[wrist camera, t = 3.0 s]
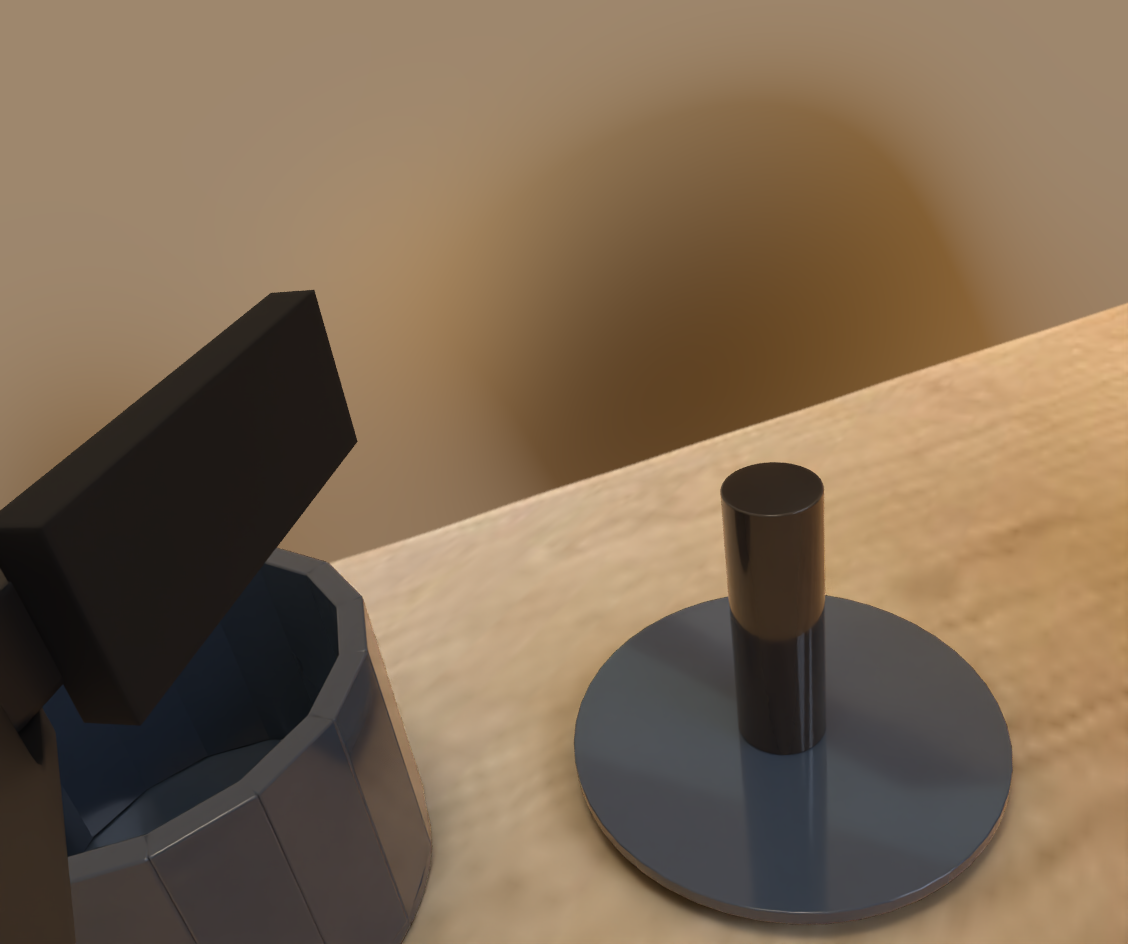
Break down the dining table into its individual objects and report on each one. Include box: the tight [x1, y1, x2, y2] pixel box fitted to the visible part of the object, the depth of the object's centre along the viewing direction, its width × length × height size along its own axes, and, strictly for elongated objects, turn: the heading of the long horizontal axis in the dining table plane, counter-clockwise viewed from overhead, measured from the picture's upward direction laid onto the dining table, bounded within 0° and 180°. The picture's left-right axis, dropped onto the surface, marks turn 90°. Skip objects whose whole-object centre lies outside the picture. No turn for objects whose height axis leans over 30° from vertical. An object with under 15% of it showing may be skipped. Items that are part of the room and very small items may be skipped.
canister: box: [42, 548, 432, 944], centre depth 28 cm, size 13×13×8 cm
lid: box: [574, 462, 1013, 924], centre depth 29 cm, size 14×14×10 cm
